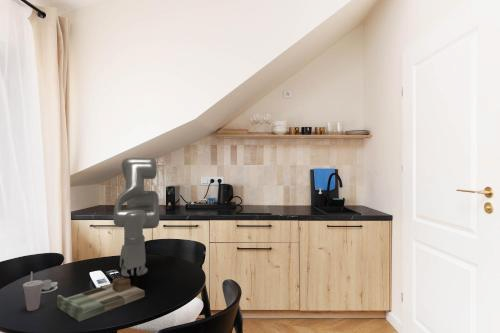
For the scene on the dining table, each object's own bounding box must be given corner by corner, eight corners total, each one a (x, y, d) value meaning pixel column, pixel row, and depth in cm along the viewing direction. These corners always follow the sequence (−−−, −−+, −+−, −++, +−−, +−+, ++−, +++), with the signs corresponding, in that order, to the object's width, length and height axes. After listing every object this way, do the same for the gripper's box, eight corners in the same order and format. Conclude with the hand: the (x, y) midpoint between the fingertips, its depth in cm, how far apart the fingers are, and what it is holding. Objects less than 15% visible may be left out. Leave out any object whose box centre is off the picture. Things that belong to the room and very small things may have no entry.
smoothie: (29, 305, 120) (29, 269, 120) (46, 304, 120) (47, 268, 120) (18, 312, 113) (18, 274, 113) (36, 312, 114) (37, 274, 114)
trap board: (57, 307, 118) (57, 295, 118) (120, 286, 139) (120, 276, 139) (79, 321, 107) (79, 308, 107) (144, 296, 128) (144, 285, 128)
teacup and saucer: (54, 284, 141) (54, 275, 141) (62, 288, 137) (62, 279, 137) (32, 291, 134) (32, 281, 134) (40, 295, 129) (40, 285, 129)
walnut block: (112, 289, 129) (112, 280, 129) (123, 285, 133) (123, 276, 133) (119, 292, 126) (119, 282, 126) (130, 288, 130) (130, 279, 130)
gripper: (143, 236, 142) (143, 276, 142) (112, 243, 130) (112, 286, 130) (153, 239, 138) (153, 280, 137) (122, 245, 125) (122, 290, 125)
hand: (133, 283), depth 134 cm, fingers closed
